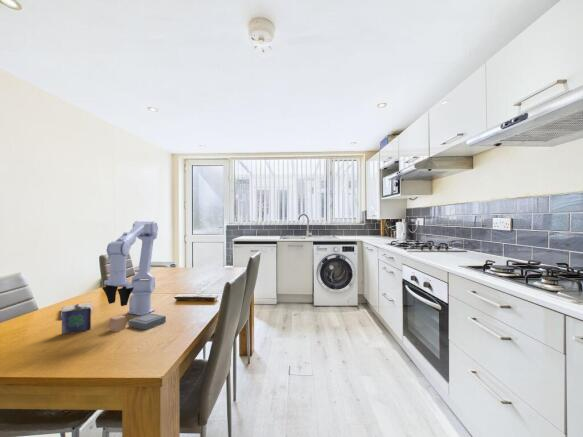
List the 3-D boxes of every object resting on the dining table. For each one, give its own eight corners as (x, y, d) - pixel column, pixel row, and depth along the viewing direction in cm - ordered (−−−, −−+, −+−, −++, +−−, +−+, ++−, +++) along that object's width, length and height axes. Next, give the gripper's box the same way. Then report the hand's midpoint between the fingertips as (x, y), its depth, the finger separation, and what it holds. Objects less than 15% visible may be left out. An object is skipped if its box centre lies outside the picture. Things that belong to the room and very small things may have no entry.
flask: (60, 335, 107) (61, 307, 107) (62, 332, 109) (62, 305, 110) (90, 330, 112) (90, 303, 112) (91, 328, 114) (91, 301, 114)
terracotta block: (109, 330, 111) (109, 318, 112) (119, 327, 115) (119, 315, 115) (116, 332, 110) (116, 319, 110) (125, 328, 114) (125, 316, 114)
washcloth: (60, 321, 123) (60, 314, 123) (60, 311, 137) (60, 305, 137) (93, 315, 131) (93, 309, 131) (90, 306, 144) (90, 300, 144)
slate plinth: (128, 326, 116) (128, 319, 116) (149, 318, 125) (149, 312, 125) (145, 330, 112) (145, 323, 112) (165, 321, 121) (165, 315, 121)
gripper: (96, 271, 112) (96, 304, 112) (120, 273, 106) (120, 309, 106) (113, 268, 119) (113, 300, 118) (137, 270, 113) (136, 304, 112)
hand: (117, 304), depth 113 cm, fingers open, 7 cm apart
